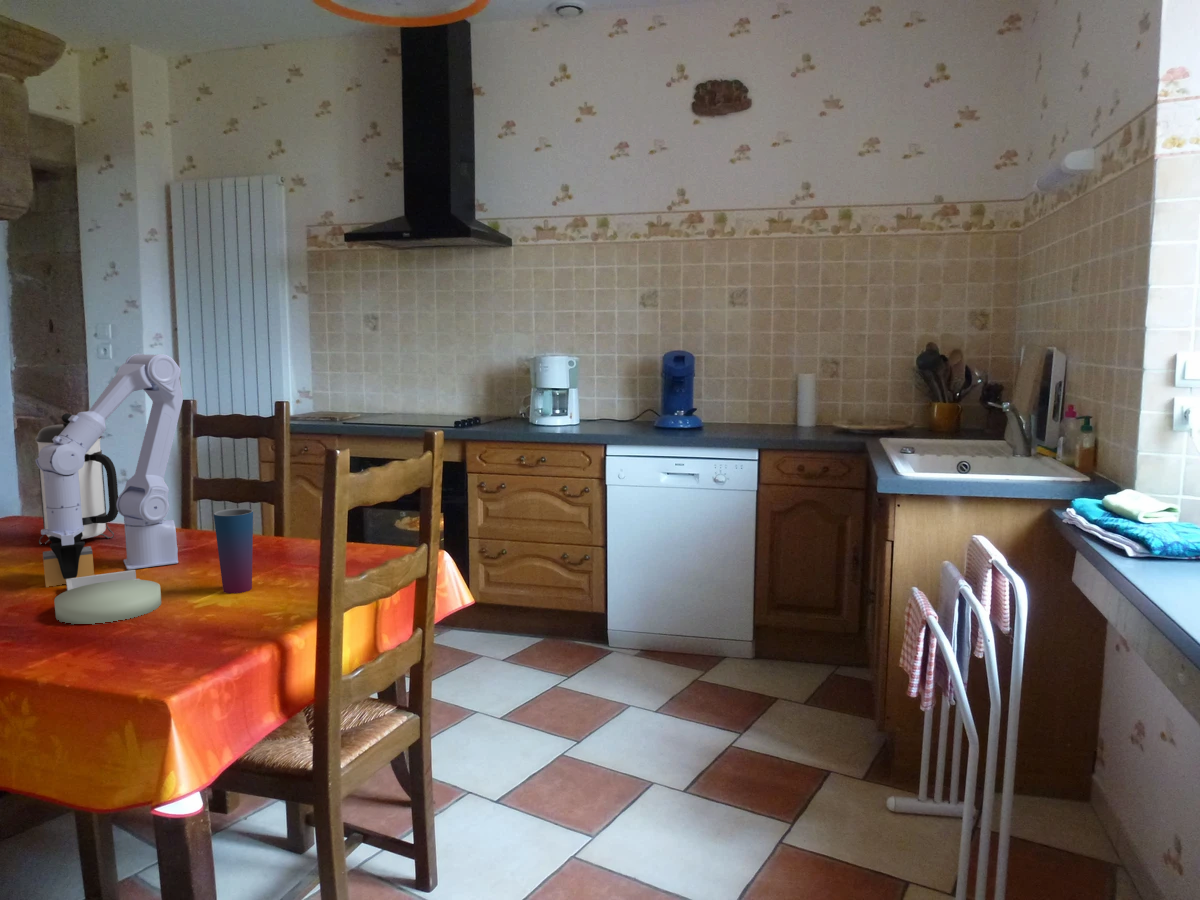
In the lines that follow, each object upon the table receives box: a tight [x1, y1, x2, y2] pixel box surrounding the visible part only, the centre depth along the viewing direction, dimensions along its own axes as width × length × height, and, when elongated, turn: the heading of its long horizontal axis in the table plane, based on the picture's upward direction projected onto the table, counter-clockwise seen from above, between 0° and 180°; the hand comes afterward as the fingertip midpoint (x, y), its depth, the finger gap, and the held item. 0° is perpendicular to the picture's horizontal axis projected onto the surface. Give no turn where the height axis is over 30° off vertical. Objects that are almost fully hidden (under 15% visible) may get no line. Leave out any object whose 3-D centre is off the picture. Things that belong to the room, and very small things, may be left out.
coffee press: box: [34, 412, 119, 546], centre depth 193 cm, size 17×16×30 cm
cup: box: [213, 507, 254, 594], centre depth 158 cm, size 7×7×15 cm
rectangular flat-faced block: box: [42, 545, 95, 588], centre depth 163 cm, size 8×4×6 cm, turn 124°
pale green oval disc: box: [54, 569, 162, 625], centre depth 151 cm, size 16×26×3 cm, turn 34°
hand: (69, 574), depth 163 cm, fingers open, 6 cm apart
